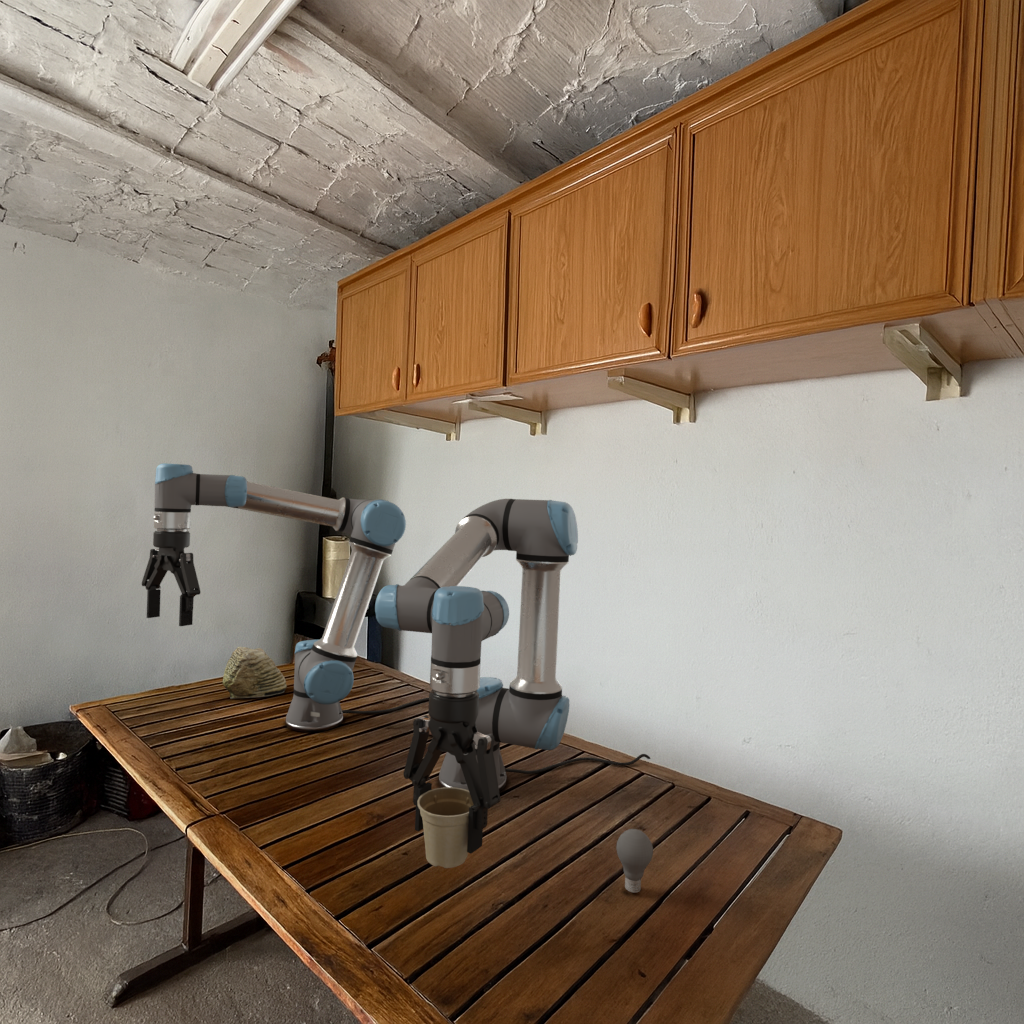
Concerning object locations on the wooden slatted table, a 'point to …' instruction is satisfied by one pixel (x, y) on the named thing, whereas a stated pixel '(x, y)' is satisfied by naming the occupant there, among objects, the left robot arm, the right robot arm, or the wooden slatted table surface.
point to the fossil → (252, 674)
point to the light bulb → (634, 857)
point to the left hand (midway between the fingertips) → (169, 621)
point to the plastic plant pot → (445, 825)
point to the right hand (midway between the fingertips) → (447, 837)
